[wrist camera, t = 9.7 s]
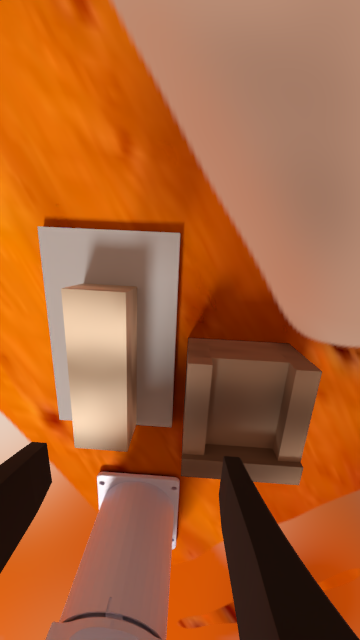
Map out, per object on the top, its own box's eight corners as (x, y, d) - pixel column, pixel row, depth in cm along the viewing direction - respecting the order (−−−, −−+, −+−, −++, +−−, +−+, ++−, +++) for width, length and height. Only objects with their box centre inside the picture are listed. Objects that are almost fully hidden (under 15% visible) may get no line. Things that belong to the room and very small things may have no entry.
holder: (272, 430, 20) (299, 485, 15) (183, 424, 20) (181, 476, 15) (288, 343, 18) (325, 375, 13) (188, 337, 18) (187, 366, 13)
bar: (136, 423, 20) (127, 451, 17) (91, 419, 20) (74, 447, 17) (137, 286, 16) (125, 292, 14) (83, 283, 17) (61, 288, 14)
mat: (172, 422, 20) (171, 427, 20) (63, 415, 20) (59, 419, 20) (180, 233, 16) (180, 232, 15) (42, 227, 16) (37, 226, 16)
